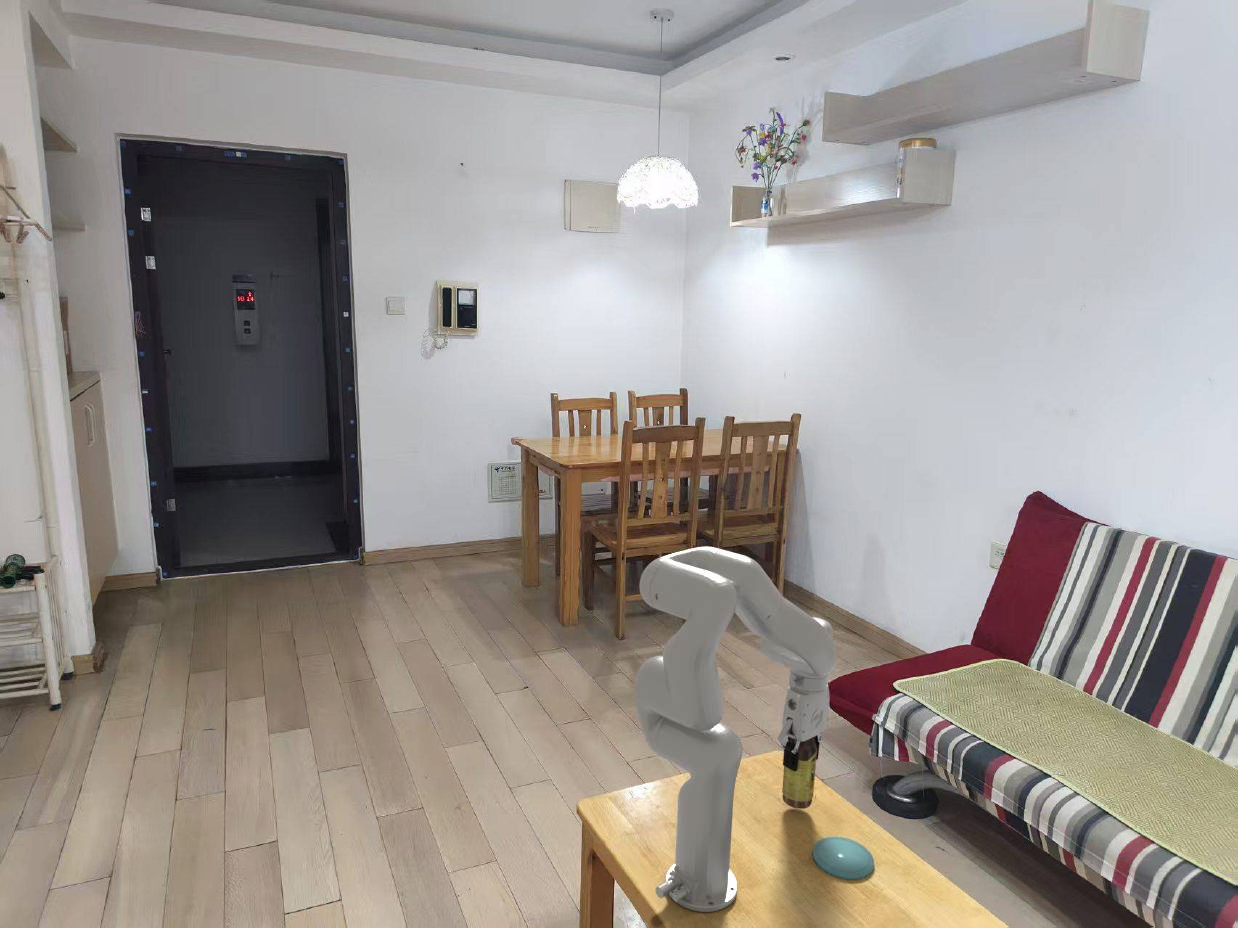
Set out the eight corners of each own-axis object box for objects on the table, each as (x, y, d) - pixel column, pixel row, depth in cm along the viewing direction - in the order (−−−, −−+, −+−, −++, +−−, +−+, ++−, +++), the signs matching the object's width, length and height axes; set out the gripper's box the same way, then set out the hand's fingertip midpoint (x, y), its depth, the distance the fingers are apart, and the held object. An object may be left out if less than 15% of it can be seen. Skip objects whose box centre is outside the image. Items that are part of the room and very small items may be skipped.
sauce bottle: (815, 811, 162) (824, 719, 159) (784, 809, 162) (792, 717, 159) (808, 792, 168) (816, 704, 165) (778, 791, 169) (786, 702, 165)
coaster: (852, 888, 143) (852, 884, 143) (800, 856, 151) (801, 852, 151) (885, 862, 151) (885, 857, 150) (834, 832, 159) (834, 828, 158)
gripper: (797, 698, 152) (789, 785, 155) (848, 675, 164) (840, 757, 167) (766, 683, 158) (758, 768, 161) (817, 663, 169) (810, 742, 172)
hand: (800, 761), depth 164 cm, fingers closed on sauce bottle, 6 cm apart
